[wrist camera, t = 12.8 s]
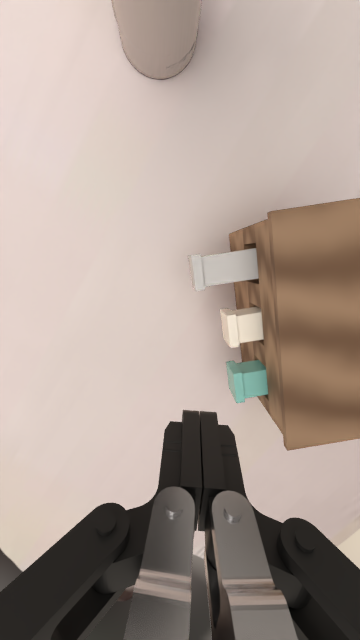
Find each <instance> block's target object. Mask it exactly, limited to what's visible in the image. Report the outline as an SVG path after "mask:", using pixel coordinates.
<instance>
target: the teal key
mask: <svg viewBox="0 0 360 640" xmlns="http://www.w3.org/2000/svg"><path fill="white" fill-rule="evenodd" d="M226 365H227V374H228V382H229V389H230V391H231V393H232V395H233V397H234V399H235V401H236V403H241V402H245V399H244V398H249V397H255V396H262V395H268V385H267V373H266V367H265V366H264V365H263V364H262V363H261V362H260V360H254V361H248V362H242V363H235V362H234V361H229V362H226Z"/></svg>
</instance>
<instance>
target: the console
mask: <svg viewBox="0 0 360 640" xmlns="http://www.w3.org/2000/svg"><path fill="white" fill-rule="evenodd" d="M267 214H268V219H267V220H264V221H261V222H259V223H256V224H254V225H251V226H248V227H246V228H243V229H241V230H238V231H236V232H233V233H230V234H229V239H230V249H231V252H233V251H240V250H246V249H253V248H256V252H257V264H258V276H259V278H258V279H251V280H245V281H239V282H234V287H235V297H236V307H237V310H238V309H245V308H251V307H257V306H258V307H260V308H261V312H262V324H263V337H264V339H263V340H256V341H250V342H244V343H240V346H241V355H242V362H248V361H254V360H260V362H261V363H262V364H263V365H264V366H265V367H266V373H267V385H268V395H262V396H257V397H258V398H259V400H260V401H261V403H262V404H263V405H264V407H265V408H266V410H267V411H268V413H269V414H270V416H271V417H272V419H273V420H274V422H275V423H276V425H277V426H278V428H279V429H280V431H281V432H282V434H283V439H284V446H285V448H286V449H287V451H288V450H294V449H300V448H306V447H312V446H318V445H323V444H329V443H335V442H341V441H347V440H353V439H359V438H360V198H356V199H350V200H343V201H336V202H330V203H323V204H316V205H310V206H303V207H296V208H290V209H283V210H277V211H271V212H268V213H267Z"/></svg>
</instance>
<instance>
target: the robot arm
mask: <svg viewBox="0 0 360 640" xmlns="http://www.w3.org/2000/svg"><path fill="white" fill-rule="evenodd" d="M111 1H112V6H113V11H114V16H115V18H116V20H117V23H118V28H119V33H120V38H121V42H122V46H123V50H124V52H125V54H126V56H127V58H128V60H129V61H130V63H131V64H132V65H133V66H134V67H135V68H136V69H137V70H138V71H139V72H141V73H142V74H144V75H145V76H148V77H151V78H155V79H165V78H170V77H172V76H175V75H177V74H178V73H179V72H181V71H182V70H183V69H184V68H185V67H186V66H187V65H188V63H189V61H190V59H191V58H192V55H193V53H194V50H195V45H196V38H197V32H198V25H199V18H200V12H201V6H202V0H111ZM197 522H198V531H205V551H204V563H205V573H206V583H207V593H208V603H209V613H210V623H211V636H212V640H360V569H359V568H358V567H357V566H356V565H355V564H354V563H353V562H351V561H350V560H349V559H348V558H347V557H346V556H345V555H344V554H343V553H342V552H341V551H340V550H339V549H338V548H337V547H336V546H335V545H334V544H333V543H332V542H331V541H330V540H328V539H327V538H326V537H325V536H324V535H323V534H322V533H321V532H320V531H319V530H318V529H317V528H316V527H315V526H314V525H312V524H311V523H309V522H308V521H306V520H304V519H301V518H290V519H287V520H286V521H285V522H284V523H281V522H279V521H276V520H274V519H272V518H269V517H267V516H265V515H263V514H261V513H260V512H258V511H257V510H256V509H255V508H254V507H253V506H252V505H251V503H250V502H249V500H248V499H247V496H246V493H245V489H244V484H243V478H242V473H241V468H240V463H239V457H238V452H237V448H236V441H235V436H234V434H233V432H232V431H231V429H230V428H229V426H228V425H218V421H217V414H216V412H205V411H200V414H199V411H190V410H183V415H182V422H172V421H170V423H169V425H168V426H167V428H166V429H165V433H164V442H163V451H162V459H161V468H160V477H159V485H158V489H157V492H156V494H155V495H154V497H153V498H152V499H151V500H150V501H149V502H148V503H146V504H144V505H143V506H140V507H137V508H133V509H129V510H125V509H124V508H123V507H122V506H121V505H119V504H116V503H106V504H102V505H100V506H98V507H97V508H95V509H94V510H93V511H92V512H91V513H89V514H88V515H87V516H86V517H85V518H84V519H83V520H81V521H80V522H79V523H78V524H77V525H76V526H75V527H74V528H72V529H71V530H70V531H69V532H68V533H67V534H66V535H64V536H63V537H62V538H61V539H60V540H59V541H58V542H57V543H55V544H54V545H53V546H52V547H51V548H50V549H49V550H48V551H46V552H45V553H44V554H43V555H42V556H41V557H40V558H38V559H37V560H36V561H35V562H34V563H33V564H32V565H31V566H29V567H28V568H27V569H26V570H25V571H24V572H23V573H21V574H20V575H19V576H18V577H17V578H16V579H15V580H14V581H12V582H11V583H10V584H9V585H8V586H7V587H6V588H5V589H3V590H2V591H1V592H0V640H85V639H86V638H87V637H88V635H89V634H90V632H91V631H92V630H93V629H94V628H95V627H96V625H97V624H98V623H99V622H100V620H101V619H102V618H103V617H104V615H105V614H106V613H107V612H108V610H109V609H110V608H111V607H112V605H113V604H114V603H115V602H116V600H117V599H118V598H119V597H120V595H121V594H122V593H123V592H124V590H125V589H126V588H127V587H130V586H132V585H135V587H134V592H133V596H132V601H131V606H130V611H129V616H128V621H127V626H126V631H125V635H124V640H189V624H190V606H191V570H192V553H193V538H194V531H196V529H197Z"/></svg>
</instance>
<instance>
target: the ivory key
mask: <svg viewBox="0 0 360 640" xmlns="http://www.w3.org/2000/svg"><path fill="white" fill-rule="evenodd" d="M220 313H221V321H222V330H223V339H224V340H225V341H226V343H227V344H228V345H229V347H230V348H234V347H239V343H244V342H250V341H256V340H263V339H264V337H263V324H262V312H261V308H260V307H258V306H257V307H251V308H245V309H238V310H232V311H231V310H230V309H228V308H226V309H220Z"/></svg>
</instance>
